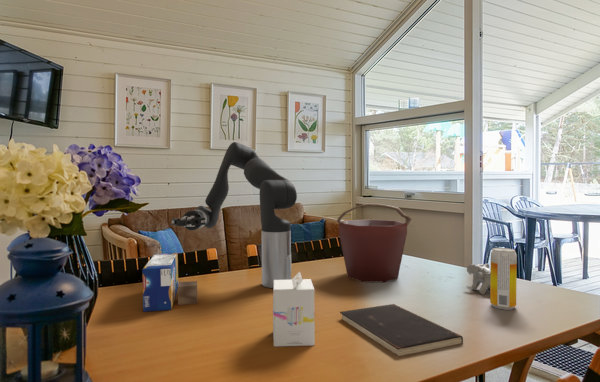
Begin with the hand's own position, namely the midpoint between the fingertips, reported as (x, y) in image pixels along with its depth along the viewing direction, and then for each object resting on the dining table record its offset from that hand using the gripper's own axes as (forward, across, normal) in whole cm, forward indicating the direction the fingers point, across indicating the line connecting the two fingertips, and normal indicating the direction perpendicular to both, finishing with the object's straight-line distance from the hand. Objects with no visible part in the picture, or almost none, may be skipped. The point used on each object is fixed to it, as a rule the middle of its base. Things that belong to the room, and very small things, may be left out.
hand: (181, 223), depth 142 cm
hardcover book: (+50, +63, +21) cm, 83 cm away
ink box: (+54, +40, +21) cm, 71 cm away
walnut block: (+28, +10, +20) cm, 36 cm away
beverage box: (+15, 0, +13) cm, 20 cm away
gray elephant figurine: (+16, +95, +20) cm, 99 cm away
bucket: (0, +65, +20) cm, 68 cm away
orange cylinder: (+33, +94, +21) cm, 102 cm away
